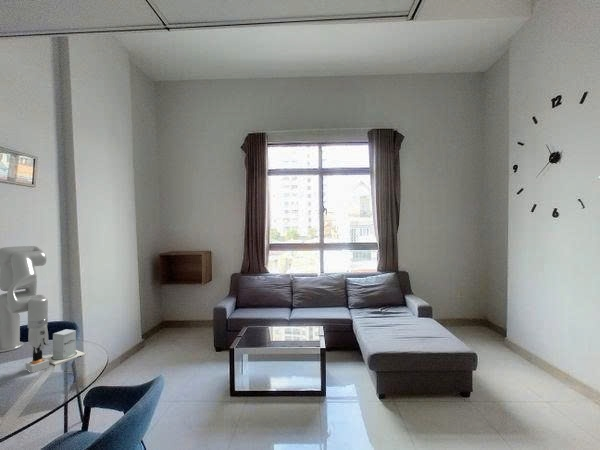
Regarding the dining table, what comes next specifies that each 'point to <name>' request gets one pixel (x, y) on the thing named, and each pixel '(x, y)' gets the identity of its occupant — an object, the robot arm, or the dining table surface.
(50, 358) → the picture board
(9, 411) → the dining table surface
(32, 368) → the button housing
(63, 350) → the supplement box
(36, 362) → the button
